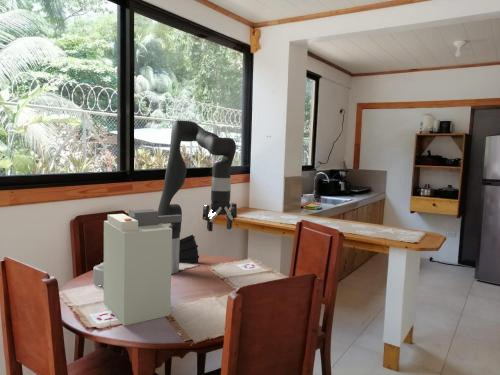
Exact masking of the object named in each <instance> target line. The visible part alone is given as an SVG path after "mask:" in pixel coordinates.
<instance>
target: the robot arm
mask: <svg viewBox="0 0 500 375" xmlns="http://www.w3.org/2000/svg"><path fill="white" fill-rule="evenodd" d="M182 142H189V143H190V142H196V143H197V144H198V146H200V147H201V148H203V149H205V150H207V152H209V154H210V155H212V156H216V157H217V156H218V157H219V156H220V157H222V158H221V160H220V161H216V162H214V163H213V165H212V173H211V174H212V175H211V176H212V178H211V186H210V188H211V190H210V201H211V203H210V204H205V203H204V204H203V208H202V220H204V221H206V224H207V225H206V229H207V231H208V232H213V229H214V228H213V224H214V219H215V218H216V217H217V216H225V217H226V229H227V230H231V229H232V227H233V220H234V219H237V218H238V213H237V210H238V208H237V203H234V202H231V192H232V191H231V190H232V189H231V188H232V183H231V171H232V170H231V168H232V165H233V162H234V161H233V160H234V158H235V156H236V151H237V144H236V142H235V140H234V139H233V138H231V137H219V136H218V134H216V133H213V132H211V131H208V130H206V129H204V128H202V127H201V125H200V124H198V123H196V122H195V121H192V120H181V119H177V120H174V122H173V123H172V127H171V132H170V144H169V145H170V146H169V153H168V158H167V159H168V160H167V166H166V168H165V175H164V183H163V188H162V192H161V197H160V199H159V200H160V201H159V205H158V209H157V211H158V216H164V215H182V216H183V211H182V210H183V209H182V208H181V207H182V206H181V205H180V204H177V203H171V202H172V200H173V198H174V197H175V195H176V194H177V193H178V192H179V190H181V189H182V187H183V186H184V184H185V181H186V176H187V169H188V168H187V165H186V162H185V160H184V158H183V156H182V152H181V144H182ZM161 224H162V225H167V224H169V223H161ZM168 227H169V228H171V229H172V259H171V275H172V274H177V273H179V271H180V263H179V251H180V238H181V230H182V222H173V223H170V225H169V226H168Z"/></svg>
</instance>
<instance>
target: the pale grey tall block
mask: <svg viewBox="0 0 500 375" xmlns="http://www.w3.org/2000/svg"><path fill="white" fill-rule="evenodd" d="M171 259H172V229H171V228H169V226H167V225H166V224H158V225H148V226H138V221H137V220H135V219H133V218H131V217H129V215H127V214H124V213H117V214H116V213H114V214H113V213H112V214H107V220H104V221H103V262H104V287H103V303H104V305H105V306H106V305H107V306H108V307H107V306H106V307H107V308H108V309H109V310H110V311H112V312H111V313H112V314H113V315H114V317H116V319H117V320H118V321H119V322H120V323H121V324H122V326H123V327H125V326H130V325H133V324H138V323H142V322H147V321H151V320H155V319H159V318H164V317H168V316H171V300H172V299H171V297H172V296H171V295H172V290H171V289H172V274H171Z"/></svg>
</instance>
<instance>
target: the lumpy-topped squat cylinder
mask: <svg viewBox="0 0 500 375" xmlns="http://www.w3.org/2000/svg"><path fill="white" fill-rule="evenodd" d="M92 271H93V273H92V274H93V276H92V278H93V282H92V283H93V285H94V284H95V285H94V286H97V285H101V286H104V261H103V262H100V264H97V265H95V266H93V270H92Z"/></svg>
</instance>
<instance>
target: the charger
mask: <svg viewBox="0 0 500 375" xmlns="http://www.w3.org/2000/svg"><path fill="white" fill-rule="evenodd" d="M128 216H129V217H131V218H133V219H135V220H137V221H138V226H148V225H158V224H161V223H168V224H171V223H173V222H181V223H182V222H183V220H182V218H183V214H182V215H164V216H158V210H157V209H156V210H155V209H153V208H152V209H151V208H148V209H146V208H145V209H133V210H128Z"/></svg>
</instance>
